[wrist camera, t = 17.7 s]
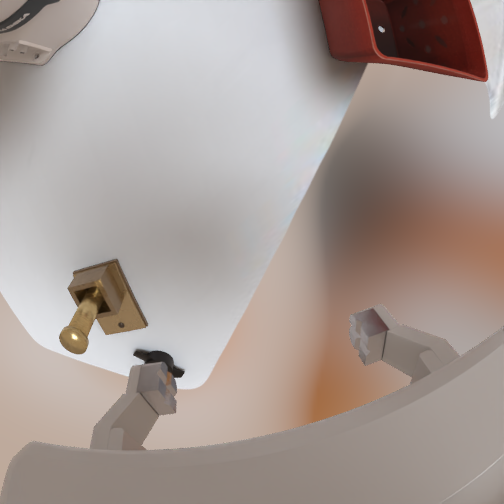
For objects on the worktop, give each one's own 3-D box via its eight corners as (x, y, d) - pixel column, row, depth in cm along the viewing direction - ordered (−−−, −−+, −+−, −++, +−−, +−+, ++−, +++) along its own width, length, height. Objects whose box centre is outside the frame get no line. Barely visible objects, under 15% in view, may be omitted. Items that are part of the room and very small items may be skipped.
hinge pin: (90, 293, 42) (62, 350, 29) (89, 273, 40) (56, 328, 28) (111, 297, 43) (88, 356, 30) (111, 277, 41) (84, 334, 29)
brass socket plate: (107, 331, 47) (100, 352, 42) (74, 271, 41) (61, 289, 36) (148, 324, 47) (143, 345, 42) (117, 258, 41) (106, 277, 36)
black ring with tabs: (164, 338, 50) (162, 349, 47) (187, 370, 54) (186, 380, 52) (131, 347, 50) (128, 357, 47) (155, 377, 54) (154, 388, 52)
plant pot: (290, -27, 25) (332, -83, 10) (393, -11, 26) (456, -36, 11) (312, 78, 34) (375, 58, 19) (414, 83, 35) (489, 83, 20)
